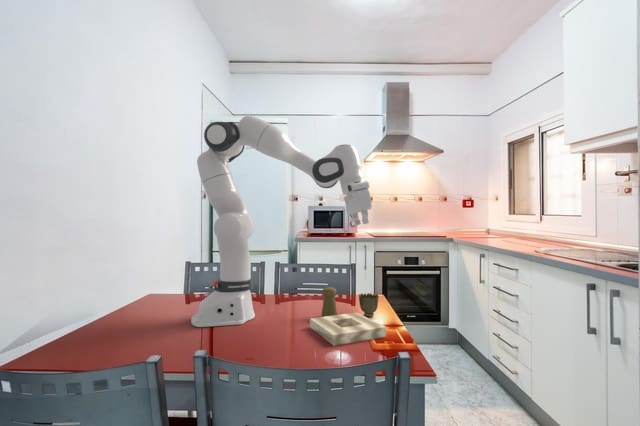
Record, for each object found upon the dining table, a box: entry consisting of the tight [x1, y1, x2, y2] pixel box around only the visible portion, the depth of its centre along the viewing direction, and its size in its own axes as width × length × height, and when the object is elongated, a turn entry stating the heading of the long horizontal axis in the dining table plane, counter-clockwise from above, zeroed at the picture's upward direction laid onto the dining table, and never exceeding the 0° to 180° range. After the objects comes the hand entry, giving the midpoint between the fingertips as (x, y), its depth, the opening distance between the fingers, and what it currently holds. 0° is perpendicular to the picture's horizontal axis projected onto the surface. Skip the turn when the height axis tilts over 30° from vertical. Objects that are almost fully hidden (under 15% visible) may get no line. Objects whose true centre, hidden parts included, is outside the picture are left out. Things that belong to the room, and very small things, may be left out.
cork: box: [320, 286, 338, 317], centre depth 124 cm, size 6×6×11 cm
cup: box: [358, 292, 379, 318], centre depth 125 cm, size 8×7×8 cm
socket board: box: [309, 312, 387, 346], centre depth 108 cm, size 18×18×3 cm
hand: (361, 224), depth 123 cm, fingers open, 8 cm apart
